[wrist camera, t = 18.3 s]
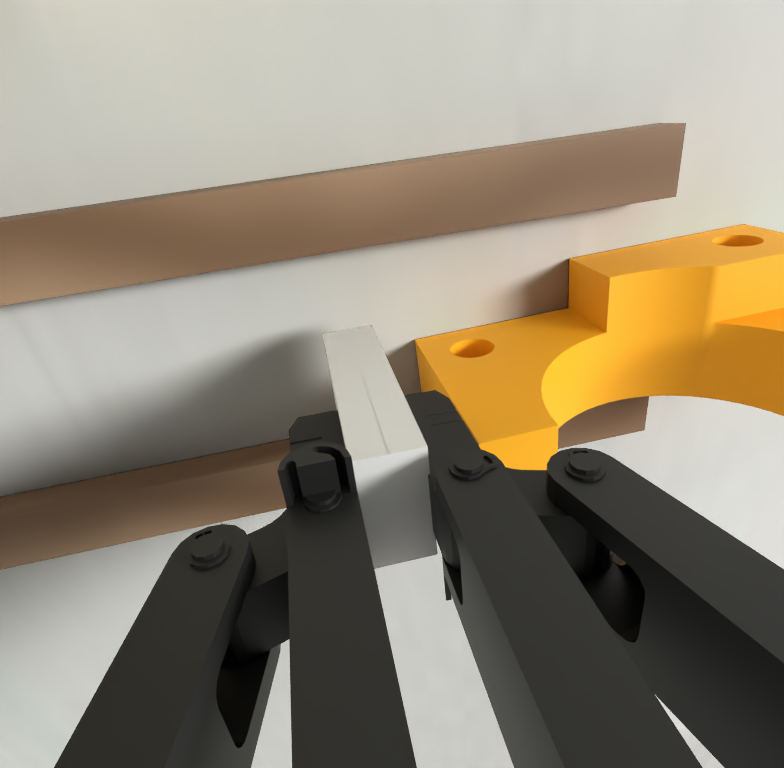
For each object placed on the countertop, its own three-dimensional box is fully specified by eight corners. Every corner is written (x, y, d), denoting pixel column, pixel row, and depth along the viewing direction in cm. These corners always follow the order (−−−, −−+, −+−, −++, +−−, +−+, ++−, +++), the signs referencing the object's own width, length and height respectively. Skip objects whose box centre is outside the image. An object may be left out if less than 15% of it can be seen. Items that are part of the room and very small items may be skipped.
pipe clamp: (744, 224, 18) (957, 271, 12) (724, 338, 20) (898, 424, 14) (408, 289, 17) (474, 376, 11) (423, 404, 19) (484, 527, 13)
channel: (-211, 247, 13) (-254, 259, 12) (659, 123, 16) (685, 123, 15) (-12, 549, 18) (-31, 576, 17) (625, 414, 21) (644, 430, 20)
